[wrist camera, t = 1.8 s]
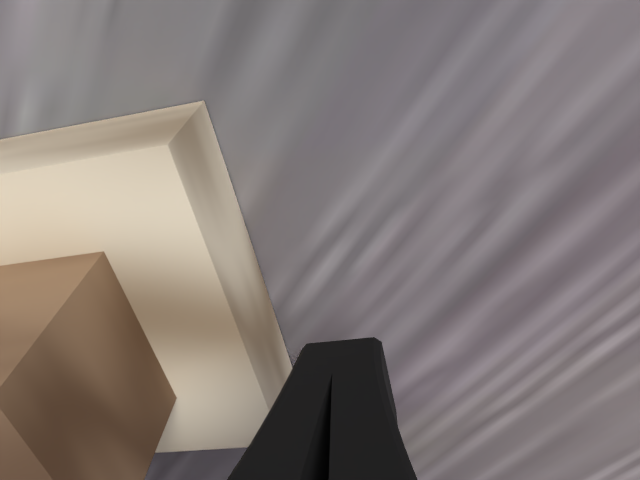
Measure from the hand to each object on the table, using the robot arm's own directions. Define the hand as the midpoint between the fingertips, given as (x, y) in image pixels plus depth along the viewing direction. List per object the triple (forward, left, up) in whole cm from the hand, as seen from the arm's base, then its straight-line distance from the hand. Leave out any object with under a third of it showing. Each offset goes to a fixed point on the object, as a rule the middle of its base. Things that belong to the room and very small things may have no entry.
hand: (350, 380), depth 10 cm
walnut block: (0, +7, -2) cm, 8 cm away
